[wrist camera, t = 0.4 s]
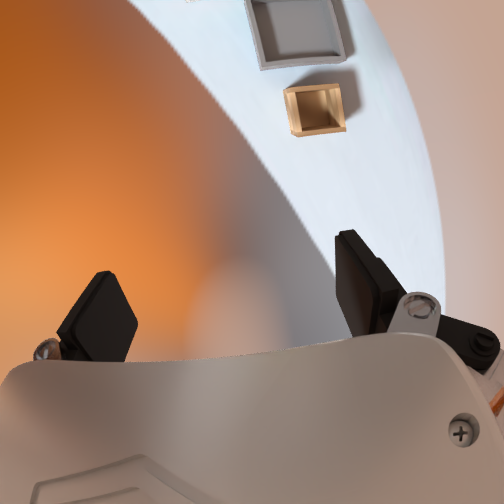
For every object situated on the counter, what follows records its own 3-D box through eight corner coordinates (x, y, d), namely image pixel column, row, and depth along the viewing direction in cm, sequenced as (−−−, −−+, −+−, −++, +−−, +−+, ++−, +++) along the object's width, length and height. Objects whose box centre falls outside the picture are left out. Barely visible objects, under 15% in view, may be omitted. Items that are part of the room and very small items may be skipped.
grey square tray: (244, 4, 24) (244, -4, 22) (322, -2, 24) (328, -9, 21) (260, 70, 29) (261, 67, 27) (338, 63, 29) (346, 60, 26)
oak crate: (282, 90, 31) (288, 87, 27) (326, 86, 31) (338, 83, 26) (290, 133, 34) (297, 137, 30) (333, 128, 33) (346, 131, 29)
